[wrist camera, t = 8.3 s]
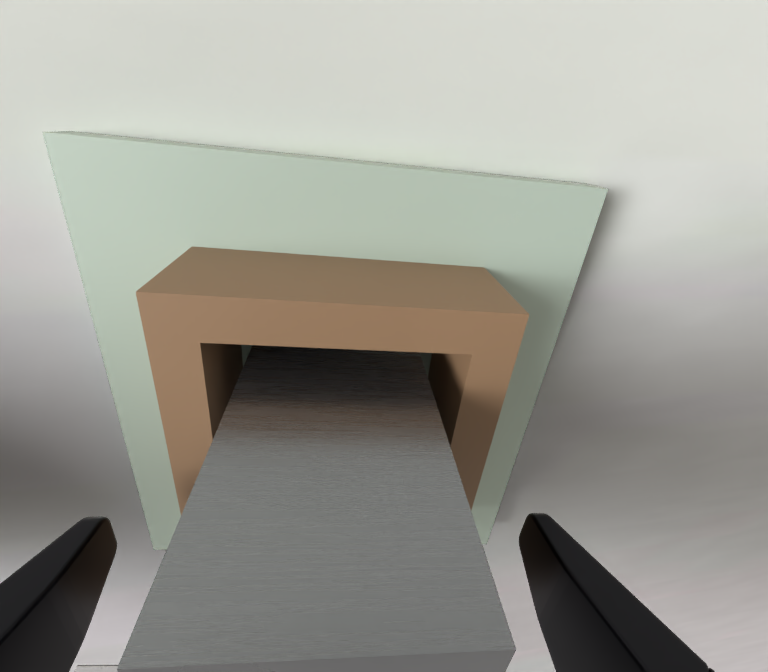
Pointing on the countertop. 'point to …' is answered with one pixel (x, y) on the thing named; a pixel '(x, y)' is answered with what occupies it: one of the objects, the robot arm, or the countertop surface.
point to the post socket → (314, 288)
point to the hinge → (96, 669)
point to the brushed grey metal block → (325, 532)
